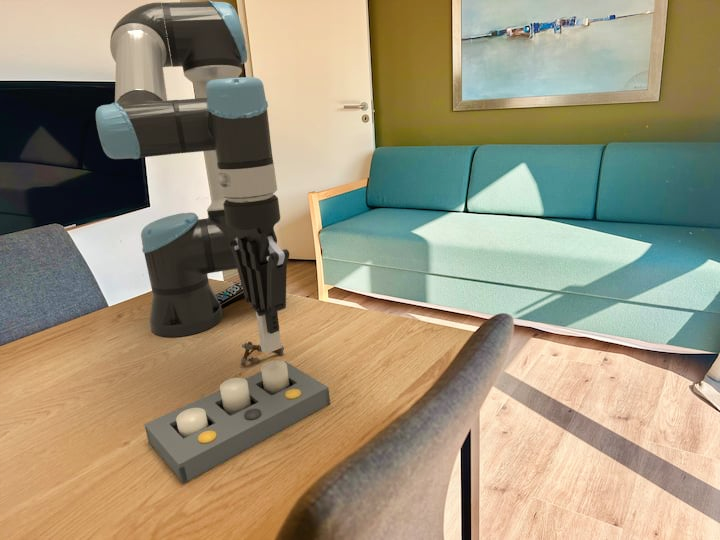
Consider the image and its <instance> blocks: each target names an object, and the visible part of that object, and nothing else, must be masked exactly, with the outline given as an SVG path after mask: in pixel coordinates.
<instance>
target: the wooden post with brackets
mask: <svg viewBox="0 0 720 540" xmlns="http://www.w3.org/2000/svg"><path fill="white" fill-rule="evenodd" d="M281 346H282V348H280V349H277V350H275V351H273V352H271V353H272V354H277V355H278V356H279V357H283V356H284V351H285V347H284V346H283V345H282V344H281ZM241 347H242V348H243V349H244V353H243V356H242V358H241V363H240V365H241V366H242V367H246V363H247V362H250V363H251V364H252V365H253V364H259V363H260V362H261V359H260V358H258V357H253V356H251V358H248V357H249V356H250V355H251V354H252V353H253V352H254V351H257V352H261V353H263V352H262V351H261V344H253V343H252V341H248V342H244V343H243V344H241Z"/></svg>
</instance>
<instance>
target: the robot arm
mask: <svg viewBox="0 0 720 540" xmlns="http://www.w3.org/2000/svg"><path fill="white" fill-rule="evenodd" d="M109 43H110V44H109V48H110V53H111V56H112V59H113V61H114V62H115V81H114V82H115V90H114V94H115V95H114V102H112V103H110V104H103V105H100V106H98V107H97V108H96V111H95V121H96V122H95V123H96V129H97V132H98V138H99V141H100V144H101V147H102V150H103V152H104V153H105V155H106V156H107V157H108V158H109V159H113V160H122V159H123V160H125V159H133V160H138V159H141V158H148V157H149V158H150V157H151V158H152V157H157V156H159V157H160V156H167V155H169V156H170V155H177V154H187V153H188V154H190V153H199V152H204V154H205V160H206V161H205V162H206V167H207V173H208V180H209V184H210V190H211V197H212V202H210V203H211V204H210V205H209V206H208V207H207V209H206V212H207V218H201V219H199V216H198V215H197V213H195V212H182V213H177V214H173V215H168V216H164V217H161V218H159V219H157V220H154V221H152V222H150V223H148V224H146V225H145V226H144V227H143V229H142V230H141V232H140V239H141V243H142V251H141V252H142V253H143V255H144V258H145V259H144V260H145V263H146V267H147V273H148V276H149V282H150V287H151V292H152V297H151V298H152V299H151V306H150V314H149V324H150V329H151V332H152V333H153V334H155V335H157V336H160V337H167V338H168V337H169V338H174V337H175V338H177V337H183V336H185V337H186V336H190V335H195V334H198V333H201V332H204V331H207V330H209V329H211V328H213V327H214V326H217V324H219V323H220V322H221V321H222V319H223V316H224V315H223V314H224V313H223V308H222V305H221V303H220V301H219V299H218V297H217V296H216V294H215V292H214V290H213V289H212V287H211V285H210V282H209V276H208V274H211V273H212V274H213V273H219V272H224V271H231V270H236V269H237V273H238V277H239V281H240V284H241V288H242V292H243V295H244V300H245V302H246V303H247V304H251V308H252V309H253V310H254V311H255V317H256V321H257V323H256V324H257V330H258V331H257V332H258V335H259V336H258V337H259V343H260V344H259V345H261V351H262V352H261V351H260V352H261V353H263V354H267V355H268V354H270V353H272V352H273V351H275V350H277V349H280V348H282V346H283V345H282V341H281V334H280V333H281V332H280V325H279V316H278V312H280V311H282V310H284V309H286V307H287V273H288V271H287V268H288V267H287V265H288V261H289V258H290V252H289V250H288V249H286V248H285V249H281V248H280V246H279V245H278V239H277V235H276V232H275V229H274V227H275V225H276V224H278V223H279V222H280V220H281V211H280V210H281V209H280V205H279V203H280V202H279V198H278V196H277V195H275V193H276V192H277V190H278V186H277V178H276V177H277V175H276V171H275V170H276V169H275V163H274V159H273V158H274V157H273V150H272V141H271V135H270V134H271V133H270V132H271V131H270V123H269V114H268V107H269V104H268V102H269V101H268V100H267V98H266V93H265V87H264V83H263V82H262V80H261V79H260V78H259V77H255V76H254V77H253V76H249V77H248V76H247V77H246V76H245V77H243V76H241V77H240V75H241V74H242V73H243V69H242V68H243V67H242V65H244V64H245V63H247V61H248V50H247V47H246V39H245V35H244V31H243V26H242V23H241V20H240V18H239V15H238V12H237V11H236V9H235V7H234V6H233V5H232V4H231V3H228V2H224V1H212V0H206V1H186V2H185V1H181V2H180V1H179V2H178V1H175V2H159V1H158V2H151V3H146V4H143V5H139V6H137V7H136V8H134V9H133V10H131V11H129V12H128V13H126V14H125V15H124V16H123V17H122V18H120V20H119V21H118V22H117V23H116V24H115V26H114V27H113V29H112V32H111V35H110V41H109ZM169 67H172V68H175V67H178V68H179V67H182V70H183V71H182V72H183V76H184V77H185V78H186V79H187V80H188V81H190V82H191V83H192V85H193V88H194V96H195V98H189V99H186V98H185V99H171V100H169V99H168V97H167V96H168V94H167V88H166V82H165V81H166V80H165V73H164V68H169ZM281 345H282V346H281Z"/></svg>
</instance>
